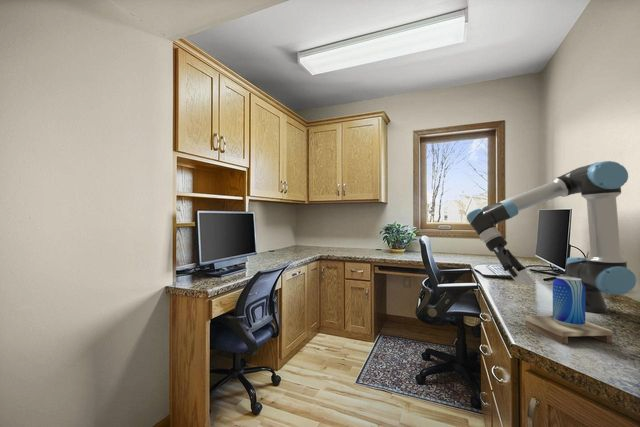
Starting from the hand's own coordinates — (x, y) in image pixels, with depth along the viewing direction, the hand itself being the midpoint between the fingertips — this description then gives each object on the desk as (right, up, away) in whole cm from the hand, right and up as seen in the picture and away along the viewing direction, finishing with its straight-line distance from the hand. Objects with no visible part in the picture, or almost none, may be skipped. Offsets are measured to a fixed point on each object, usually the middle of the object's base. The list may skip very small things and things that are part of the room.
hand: (527, 284), depth 107 cm
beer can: (+5, -11, -13) cm, 17 cm away
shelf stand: (+4, -14, -12) cm, 19 cm away
